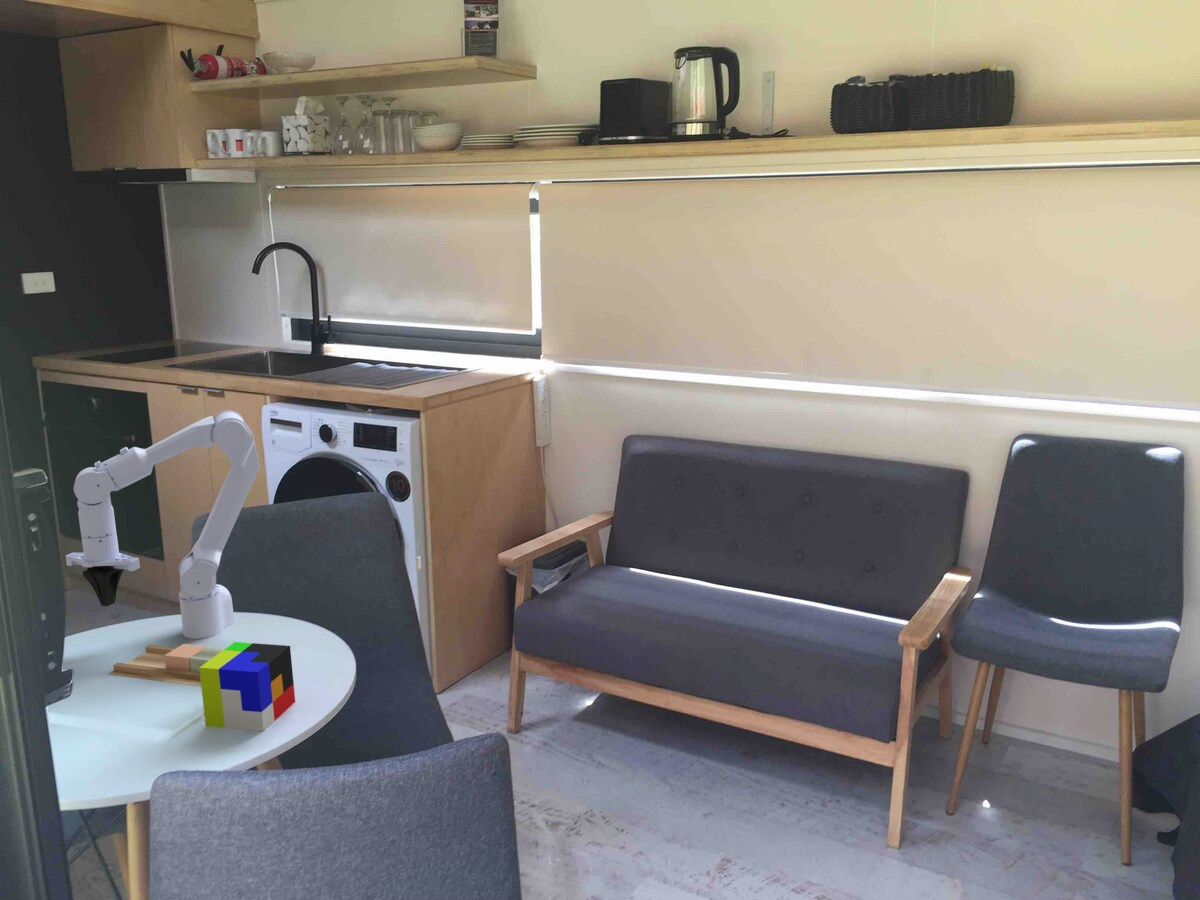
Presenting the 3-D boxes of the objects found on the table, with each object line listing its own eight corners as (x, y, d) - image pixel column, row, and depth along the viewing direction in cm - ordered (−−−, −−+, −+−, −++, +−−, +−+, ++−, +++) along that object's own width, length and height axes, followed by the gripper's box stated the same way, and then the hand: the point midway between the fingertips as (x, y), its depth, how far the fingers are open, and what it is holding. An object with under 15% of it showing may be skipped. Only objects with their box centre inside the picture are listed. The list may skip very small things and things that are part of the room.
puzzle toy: (263, 731, 155) (257, 672, 152) (205, 726, 157) (199, 667, 154) (295, 702, 164) (290, 645, 162) (240, 697, 166) (234, 641, 164)
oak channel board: (156, 652, 185) (153, 631, 184) (278, 666, 177) (276, 644, 177) (108, 680, 173) (105, 658, 172) (236, 696, 166) (234, 673, 165)
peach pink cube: (185, 659, 178) (183, 643, 178) (209, 662, 177) (207, 646, 176) (166, 671, 174) (164, 655, 173) (190, 674, 172) (188, 658, 172)
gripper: (49, 537, 178) (59, 608, 181) (116, 543, 175) (125, 615, 178) (79, 526, 185) (88, 595, 188) (144, 531, 181) (152, 601, 184)
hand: (108, 604), depth 183 cm, fingers closed
